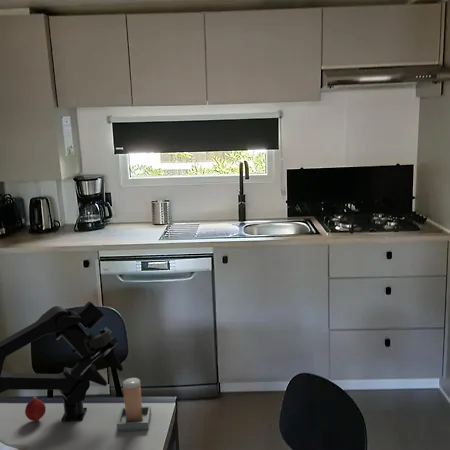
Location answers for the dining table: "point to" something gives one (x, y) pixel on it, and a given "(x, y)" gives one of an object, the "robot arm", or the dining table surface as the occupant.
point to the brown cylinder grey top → (132, 400)
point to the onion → (35, 409)
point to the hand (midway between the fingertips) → (114, 377)
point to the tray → (134, 426)
